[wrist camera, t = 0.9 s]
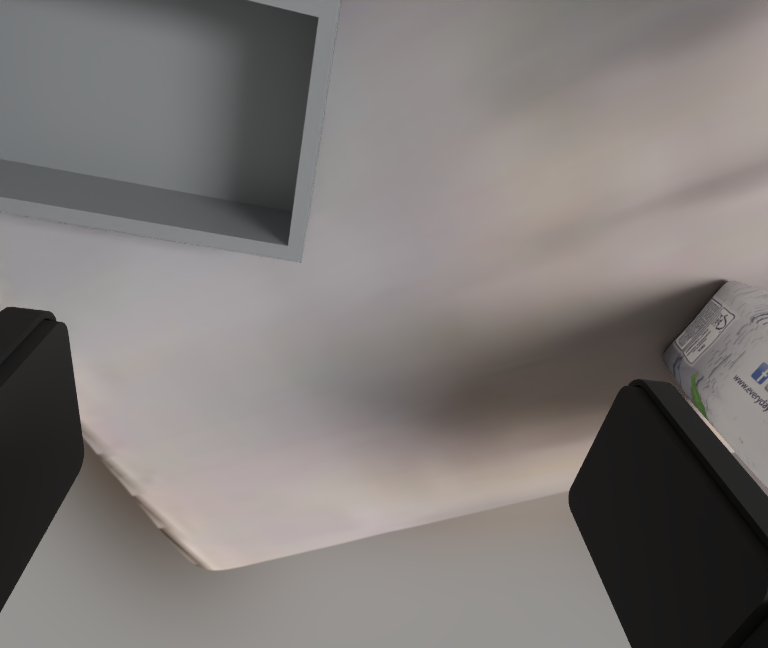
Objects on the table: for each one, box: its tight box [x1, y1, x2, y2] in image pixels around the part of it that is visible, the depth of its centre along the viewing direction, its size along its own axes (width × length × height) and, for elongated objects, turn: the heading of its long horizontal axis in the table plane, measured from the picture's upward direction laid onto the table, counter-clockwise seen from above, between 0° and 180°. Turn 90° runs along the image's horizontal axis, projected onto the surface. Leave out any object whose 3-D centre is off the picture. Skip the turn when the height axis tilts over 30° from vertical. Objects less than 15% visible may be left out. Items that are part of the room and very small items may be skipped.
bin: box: [0, 0, 341, 263], centre depth 26 cm, size 12×18×6 cm, turn 78°
